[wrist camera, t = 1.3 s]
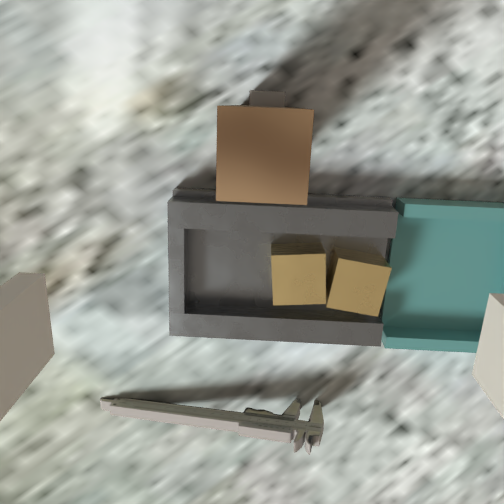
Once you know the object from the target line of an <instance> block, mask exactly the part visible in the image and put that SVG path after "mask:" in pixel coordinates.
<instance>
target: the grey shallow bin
mask: <svg viewBox="0 0 504 504" xmlns="http://www.w3.org/2000/svg"><path fill="white" fill-rule="evenodd" d="M392 202H393V200H392V199H391V198H389V197H372V196H350V195H328V194H308V198H307V205H295V204H273V203H251V202H229V201H216V189H195V188H175V189H174V190H173V197H172V198H171V199H170V200H169V201H168V260H169V331H170V336H188V337H207V338H226V339H246V340H265V341H284V342H304V343H323V344H343V345H362V346H381V339H382V332H383V325H384V324H383V322H382V320H381V318H380V316H379V314H378V317H377V316H371V315H366V314H360V313H355V312H349V311H344V310H338V309H333V308H327V307H326V304H306V305H273V291H272V264H271V244H289V243H316V242H321V243H322V245H323V248H324V251H325V253H326V275H327V271H328V266H329V262H330V258H331V254H332V250H333V247H338V248H344V249H349V250H355V251H360V252H365V253H371V254H376V255H382V256H383V257H384V258H385V256H386V248H387V240H388V238H395V236H396V229H397V221H398V214H399V212H398V211H397V210H395V209H394V208H393V207H392Z"/></svg>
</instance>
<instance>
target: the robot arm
mask: <svg viewBox="0 0 504 504" xmlns="http://www.w3.org/2000/svg"><path fill="white" fill-rule="evenodd" d="M53 355H54V346H53V337H52V329H51V321H50V313H49V305H48V297H47V289H46V280H45V274H44V273H21V272H19V273H18V274H17V275H15V276H14V277H12V278H11V279H10V280H8V281H7V282H6V283H4V284H3V285H2V286H0V421H1V420H2V419H3V417H4V416H5V415H6V414H7V412H8V411H9V410H10V409H11V407H12V406H13V405H14V404H15V402H16V401H17V400H18V399H19V397H20V396H21V395H22V394H23V393H24V391H25V390H26V389H27V388H28V386H29V385H30V384H31V383H32V381H33V380H34V379H35V378H36V376H37V375H38V374H39V373H40V371H41V370H42V369H43V368H44V366H45V365H46V364H47V363H48V362H49V360H50V359H51V358H52V357H53ZM472 375H473V376H474V378H475V379H476V381H477V382H478V384H479V385H480V386H481V388H482V389H483V391H484V392H485V394H486V395H487V396H488V398H489V399H490V401H491V402H492V404H493V405H494V406H495V408H496V409H497V411H498V412H499V414H500V415H501V416H502V418H503V419H504V294H498V293H489V298H488V302H487V307H486V312H485V316H484V321H483V325H482V330H481V335H480V339H479V344H478V348H477V353H476V358H475V362H474V367H473V371H472Z"/></svg>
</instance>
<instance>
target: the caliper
mask: <svg viewBox="0 0 504 504" xmlns="http://www.w3.org/2000/svg"><path fill="white" fill-rule="evenodd" d="M100 403H101V409H103V410H106V411H110V415H115V416H123V417H130V418H137V419H144V420H151V421H159V422H166V423H174V424H181V425H188V426H196V427H203V428H211V429H218V430H226V431H233V432H239V436H245V437H251V438H258V439H265V440H272V441H278V442H285V443H291V440H294V453H295V452H297V451H298V450H299V449H300V448H301V447H302V446H303V443H304V442H305V449H306V451H307V453H308V454H309V455H310V452H311V448H312V446H319V445H320V441H321V438H322V434H323V426H324V420H323V414H322V408H321V403H320V402H319V401H317V400H315V401H314V405H313V409H312V412H311V415H310V418H309V421H303V420H298V418H299V415H300V409H301V400H294V401H293V402H292V404H291V405H290V406H289V407H288V408H287V409H286V410H285V412H284V413H283V414H282V415H277V414H273V413H272V412H269V411H266V410H256V409H252V408H246V409H245V411H244V413H241V412H233V411H225V410H217V409H209V408H201V407H193V406H185V405H177V404H170V403H162V402H155V401H147V400H139V399H117V398H115V399H114V400H112V399H104V398H101V399H100Z"/></svg>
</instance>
